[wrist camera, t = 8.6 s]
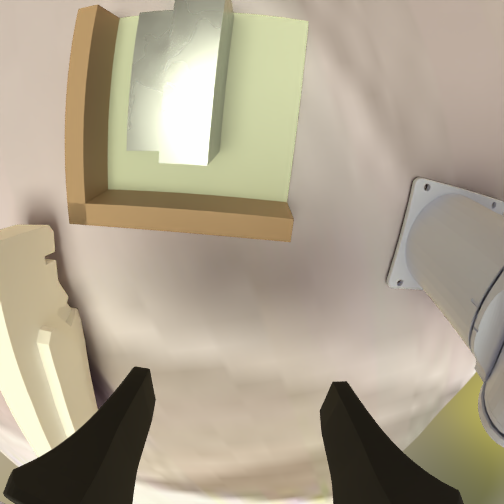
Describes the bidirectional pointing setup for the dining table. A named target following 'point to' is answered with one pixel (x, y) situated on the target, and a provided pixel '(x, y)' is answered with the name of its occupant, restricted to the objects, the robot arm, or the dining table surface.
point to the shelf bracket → (40, 342)
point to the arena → (184, 175)
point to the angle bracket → (180, 81)
